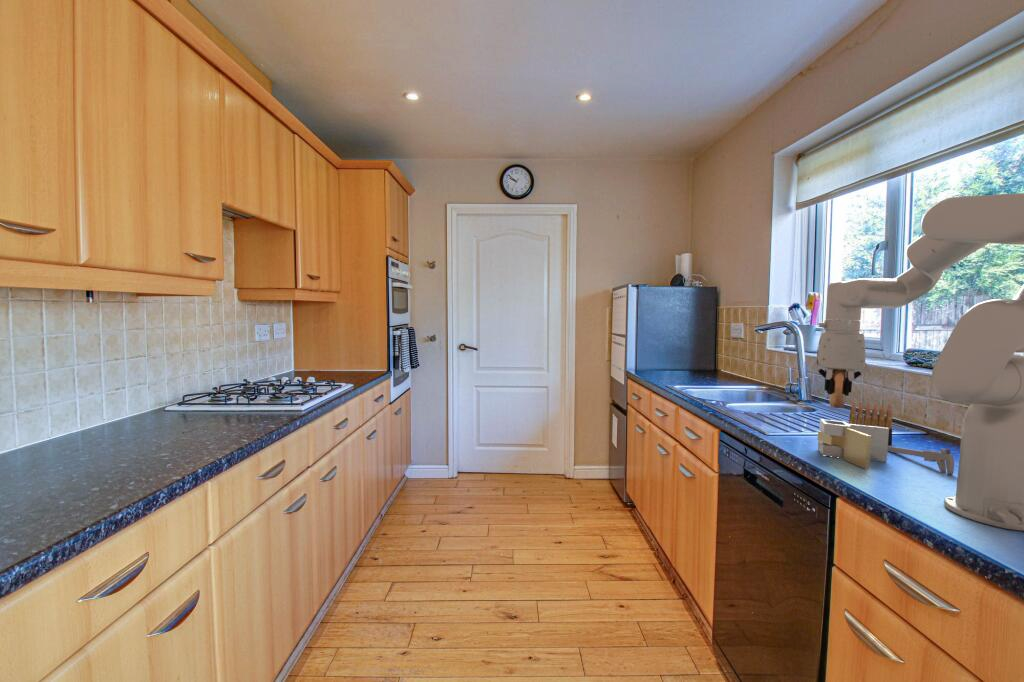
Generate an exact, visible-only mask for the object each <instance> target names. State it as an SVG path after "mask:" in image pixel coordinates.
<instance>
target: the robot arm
mask: <svg viewBox="0 0 1024 682" xmlns="http://www.w3.org/2000/svg"><path fill="white" fill-rule="evenodd" d="M920 228H921V229H920V230H921V232H922V233H923V234H922V235H921V236H920V237H918V238H917V239H915V240H913V241H912V242H911V243H909V245H908V246H907V247H906V249H905V255H906V258H907V261H908V262H909V263H910V264H911V265H912V267H910V268H908V269H907V270H906V271H904V272H903V273H901V274H900V275H897V276H896V277H894V278H874V277H873V278H871V277H870V278H866V277H865V278H863V277H861V278H857V279H856V278H855V279H851V280H843V281H842V280H840V281H833V282H831V283H829V284H828V286H827V290H826V291H827V294H826V306H825V307H826V308H825V320H823V322H818V328H822V329H824V331H821V333H820V337H819V339H818V340H819V341H818V346H817V352H816V358H815V359H814V361H813V362H811V364H810V366H809V368H810V370H814V371H815V372H817V373H819V374H820V375H821V376H822V377H823V378H824V388H823V389H824V391H826V394H828V395H830V394H832V391H833V380H832V371H833V369H844V370H846V378H845V391H844V396H846V397H847V396H848V397H849V395H850V393H852V386H853V382H854V381H855V380H856V379H857V378H858V377H860V376H861V375H865V374H869V373H870V372H871V369H870V368H869V366H868V364H867V363H866V341H865V334H864V333H863V332H861V318H862V309H883V310H885V309H886V310H888V309H890V310H891V309H897V308H902V307H903V306H904V307H905V306H907V305H908V304H910V303H912V302H914V301H916V300H917V299H919V298H921V297H923V296H924V295H926V294H927V293H929V292H931V290H932V289H934V287H935V286H936V285H937V283H939V280H940V279H941V277H942V274H943V272H944V271H945V270H948V268H951V267H952V266H954V265H955V264H957V263H959V262H960V261H962V260H963V259H965V258H967V257H969V256H970V255H972V254H974V253H975V252H977V251H979V250H980V249H982V248H984V247H985V246H987V245H988V244H996V245H997V244H998V245H999V244H1001V245H1016V246H1018V245H1021V246H1023V245H1024V192H1018V193H1001V194H987V195H986V194H985V195H964V196H963V195H961V196H959V195H958V196H952V197H947V198H945V199H942V200H939V201H938V202H937V203H935V204H933V205H932V206H931V207H930V208H929V209H928V210H927V211H926V212H925V213H924V215H923V217H922V219H921V221H920ZM1015 353H1019V354H1015ZM1021 353H1024V284H1023V285H1022V286H1021V288H1020V289H1019V291H1018V292H1017V294H1016V295H1015V296H1014V297H1013V298H997V299H996V298H994V299H989V300H985V301H981V302H979V303H977V304H975V305H973V306H971V307H970V308H968V310H966V312H965V313H962V315H961V316H960V318H959V319H958V320H957V322H956V324H955V326H954V328H953V329H952V331H951V333H950V335H949V337H948V338H947V340H946V342H945V344H944V347H943V348H942V350H941V351H940V354H939V356H938V357H937V359H936V361H935V363H934V365H933V368H932V371H931V384H932V387H933V389H934V391H935V392H936V393H937V394H938V395H939V396H940V398H943V399H945V400H946V401H949V402H950V403H951V402H952V403H956V404H961V405H969V406H968V408H967V409H966V412H965V414H964V417H963V420H962V430H961V437H960V447H959V456H958V457H959V459H958V468H957V469H958V470H957V478H956V479H957V481H956V491H955V495H951V496H946V497H945V498H944V500H943V503H944V504H943V505H944V506H945V507H946V508H947V509H948V510H949V511H951V512H953V513H955V514H957V515H959V516H961V517H964V518H967V519H969V520H972V521H975V522H978V523H981V524H986V525H988V526H991V527H992V526H993V527H996V528H1002V529H1007V530H1011V531H1012V530H1013V531H1020V532H1021V531H1022V532H1024V355H1020V354H1021ZM822 368H823V369H822Z"/></svg>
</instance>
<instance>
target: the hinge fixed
mask: <svg viewBox="0 0 1024 682" xmlns="http://www.w3.org/2000/svg"><path fill="white" fill-rule="evenodd" d="M846 428H850V429H853V430H856V431H859V432H862V433H864V434H867V435H870V436H871V447H870V460H869V461H876V462H881V463H887V461H888V458H887V457H888V451H887V448H888V446H889V445H888V436H889V428H885V427H875V426H866V425H856V424H849V423H848V422H846V421H844V420H832V419H826V418H825V419H823V418H820V419H819V428H818V429H819V432H822V433H823V434H824V435H832V436H841V437H845V431H846ZM817 441H818V443H817V451H818V450H819V451H820V452H819V451H818V452H819V454H820V453H821V454H822V455H826V456H832V457H831V458H833V457H839V458H838V459H841V458H843V457H844V448H843V447H840V446H831V445H828V444H826V443H824V442H821V441H819V440H818V439H817ZM821 454H820V455H821ZM822 455H821V456H822ZM826 456H825V457H826Z"/></svg>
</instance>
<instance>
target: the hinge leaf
mask: <svg viewBox="0 0 1024 682" xmlns="http://www.w3.org/2000/svg"><path fill="white" fill-rule="evenodd" d="M818 440H819V441H821V442H824V443H826V444H828V445H831V446H840V447H843V448H844V457H843V459H842V460H844V461H847V462H849V463H851V464H852V465H855V466H858V467H859V468H862V469H864V470H869V469H870V461H871V460H870V447H871V436H870V435H867V434H864V433H862V432H859V431H856V430H853V429H850V428H846V431H845V437H841V436H832V435H824V434H823V433H822V432H821V431H817V441H818Z"/></svg>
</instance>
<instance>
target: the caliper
mask: <svg viewBox="0 0 1024 682" xmlns="http://www.w3.org/2000/svg"><path fill="white" fill-rule="evenodd" d="M887 450H888V451H887V452H889V451H890V452H889V453H896V454H902V455H908V456H915V457H920V458H923V461H925V462H930V463H931V462H933V463H934V462H936V464H937V467H938V470H939V471H940V472H941V473H946V474H947V475H954V474H955V473H954V471H955V459H954V454H953V453H951V449H949V448H947V449H946V448H940V451H935V450H927V449H926V450H916V449H912V448H911V449H910V448H905V447H904V448H903V447H899V446H898V447H897V446H893V445H888V448H887Z"/></svg>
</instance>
